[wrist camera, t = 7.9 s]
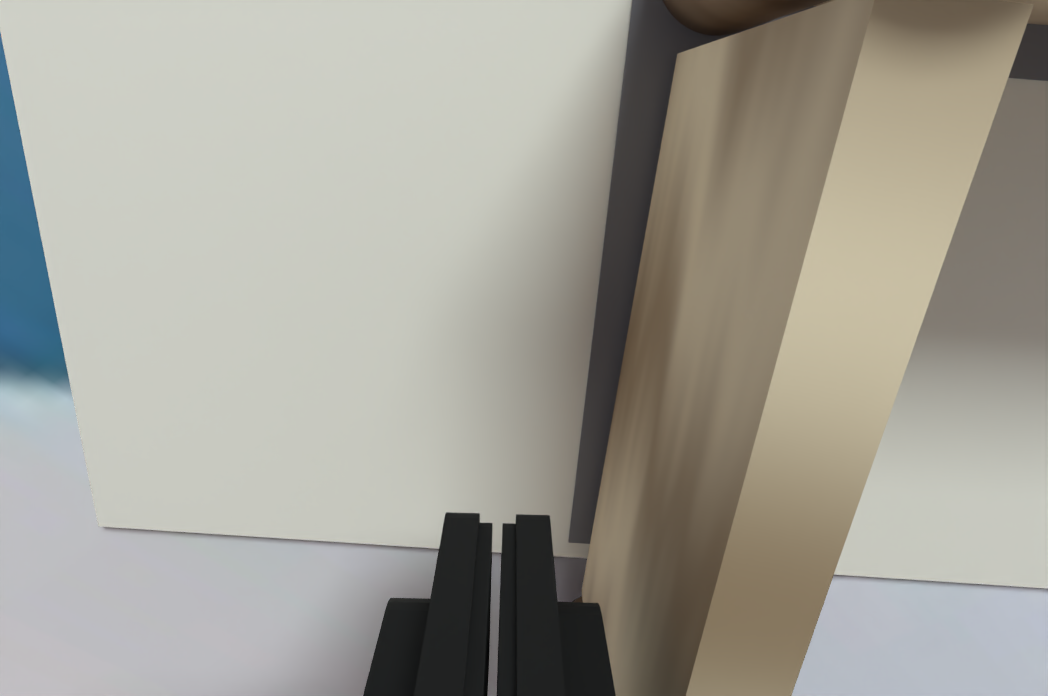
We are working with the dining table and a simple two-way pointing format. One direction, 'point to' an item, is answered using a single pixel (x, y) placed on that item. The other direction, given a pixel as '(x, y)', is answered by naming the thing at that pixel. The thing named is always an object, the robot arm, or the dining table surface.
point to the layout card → (453, 274)
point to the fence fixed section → (769, 13)
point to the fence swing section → (779, 324)
